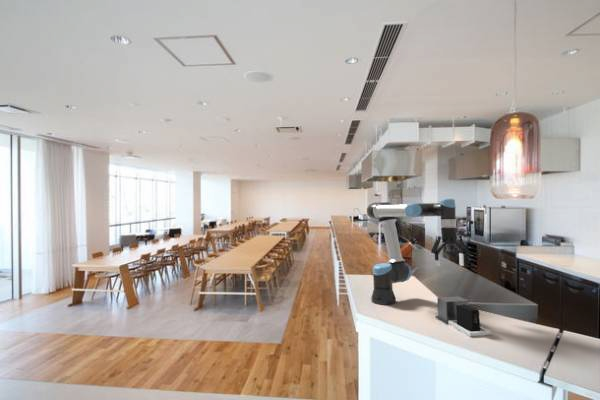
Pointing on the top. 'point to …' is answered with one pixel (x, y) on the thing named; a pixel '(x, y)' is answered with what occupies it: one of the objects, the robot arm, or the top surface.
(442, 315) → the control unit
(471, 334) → the tray
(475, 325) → the electronic device
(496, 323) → the top surface
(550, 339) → the top surface
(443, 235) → the robot arm
